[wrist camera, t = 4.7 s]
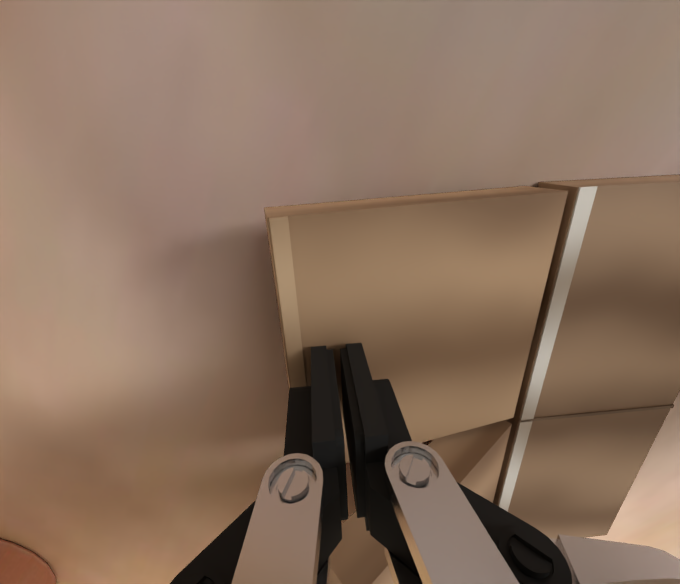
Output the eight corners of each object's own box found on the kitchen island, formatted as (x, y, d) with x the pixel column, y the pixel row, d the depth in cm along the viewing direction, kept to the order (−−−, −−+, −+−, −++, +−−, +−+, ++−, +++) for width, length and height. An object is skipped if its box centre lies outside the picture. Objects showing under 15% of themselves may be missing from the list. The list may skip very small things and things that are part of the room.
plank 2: (317, 546, 11) (356, 605, 9) (474, 402, 16) (513, 424, 15) (332, 673, 15) (361, 727, 13) (453, 523, 20) (482, 549, 19)
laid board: (538, 182, 12) (579, 187, 11) (720, 172, 13) (790, 175, 11) (471, 514, 21) (486, 550, 19) (581, 502, 21) (607, 535, 20)
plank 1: (263, 207, 10) (267, 218, 8) (524, 186, 12) (570, 191, 11) (295, 437, 14) (302, 476, 13) (486, 390, 16) (514, 418, 15)
